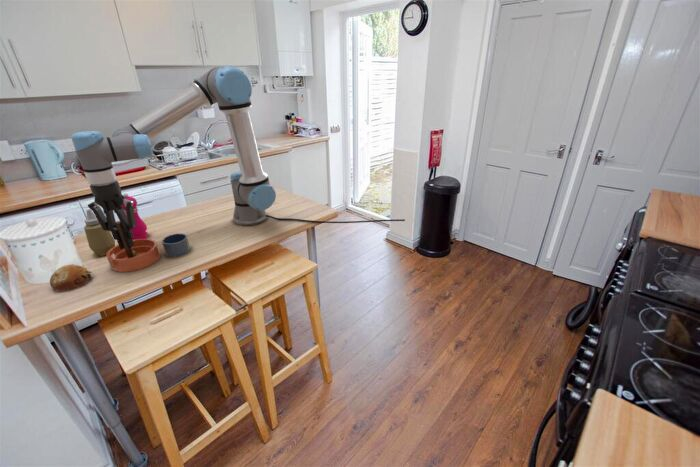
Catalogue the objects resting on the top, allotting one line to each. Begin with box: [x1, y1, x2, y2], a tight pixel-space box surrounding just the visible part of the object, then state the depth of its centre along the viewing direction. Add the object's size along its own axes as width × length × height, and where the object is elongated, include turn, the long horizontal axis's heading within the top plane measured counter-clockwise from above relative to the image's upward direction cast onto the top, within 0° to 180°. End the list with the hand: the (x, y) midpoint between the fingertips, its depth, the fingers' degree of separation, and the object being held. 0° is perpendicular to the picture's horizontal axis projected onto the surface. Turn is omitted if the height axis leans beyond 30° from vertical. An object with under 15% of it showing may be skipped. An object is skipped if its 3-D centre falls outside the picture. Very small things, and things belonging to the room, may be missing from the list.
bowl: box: [105, 238, 161, 273], centre depth 116 cm, size 16×16×6 cm
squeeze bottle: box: [83, 208, 116, 257], centre depth 120 cm, size 8×8×18 cm
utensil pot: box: [161, 233, 191, 258], centre depth 123 cm, size 9×9×6 cm
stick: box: [115, 220, 134, 258], centre depth 111 cm, size 2×2×16 cm
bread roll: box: [49, 263, 92, 292], centre depth 105 cm, size 10×10×8 cm
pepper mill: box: [122, 193, 149, 240], centre depth 130 cm, size 7×7×20 cm
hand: (127, 246), depth 112 cm, fingers closed on stick, 2 cm apart
